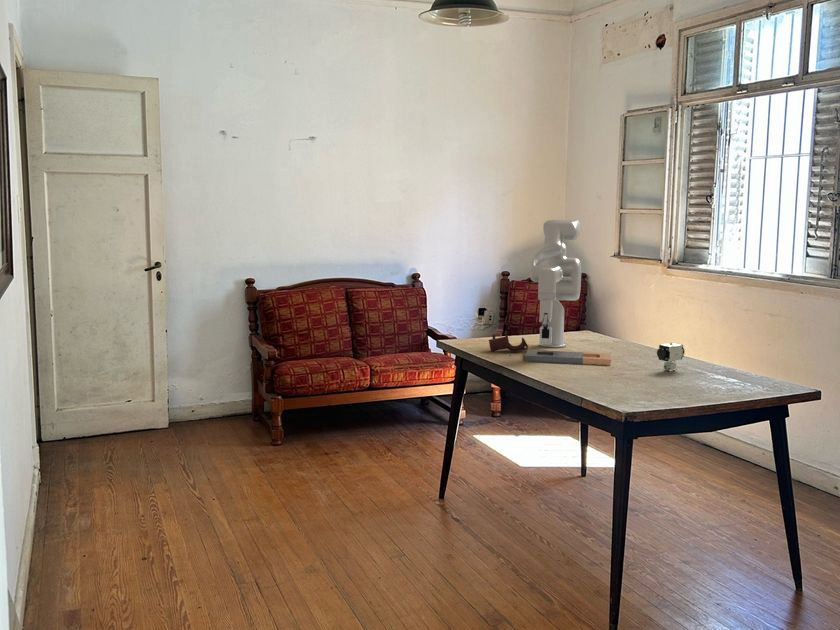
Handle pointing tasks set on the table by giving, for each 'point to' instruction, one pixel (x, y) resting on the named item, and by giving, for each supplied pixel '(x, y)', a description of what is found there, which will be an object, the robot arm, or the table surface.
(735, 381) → the table surface
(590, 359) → the grey copper flat plate
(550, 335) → the grey rectangular block
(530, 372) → the table surface
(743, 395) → the table surface
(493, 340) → the bracket
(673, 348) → the pneumatic valve
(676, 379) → the table surface
